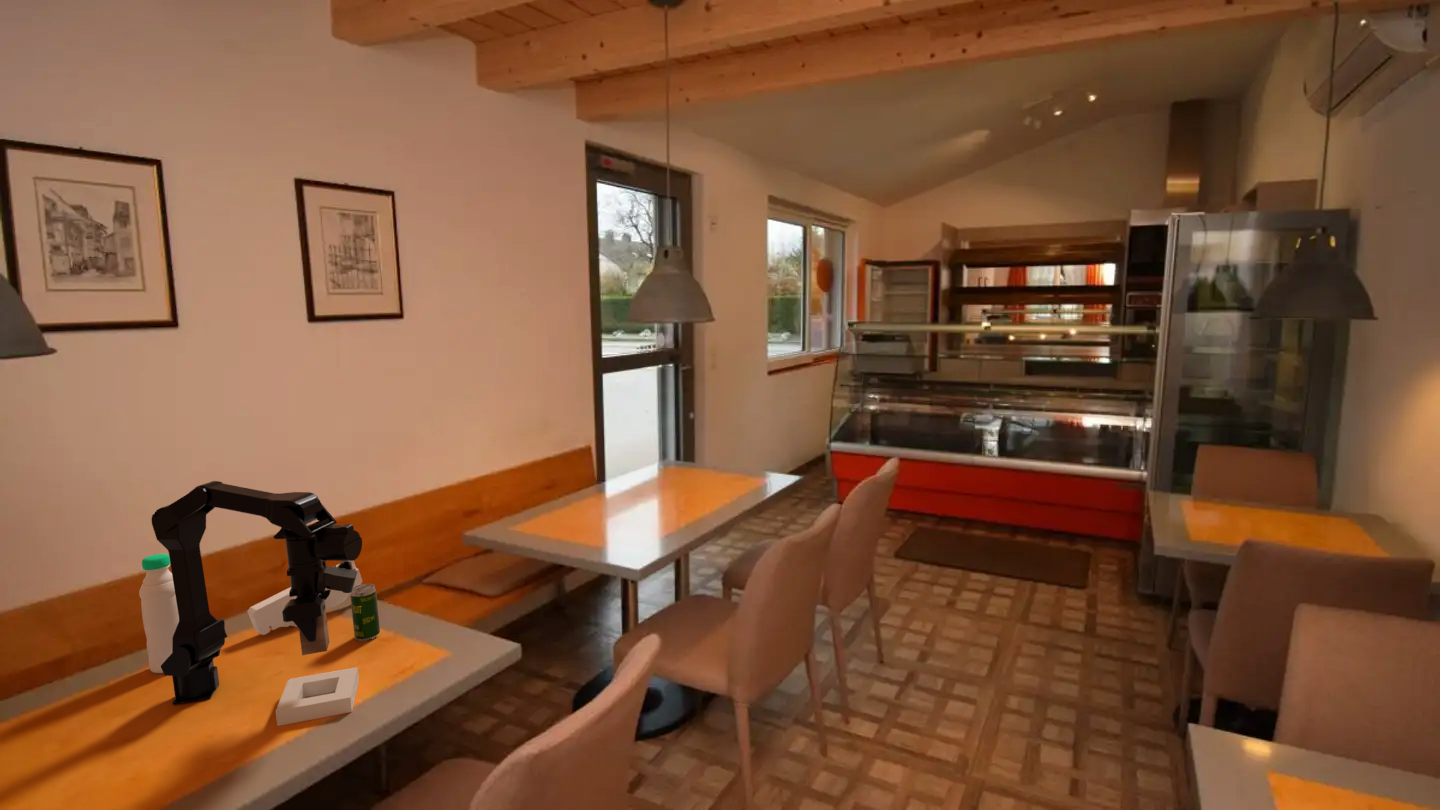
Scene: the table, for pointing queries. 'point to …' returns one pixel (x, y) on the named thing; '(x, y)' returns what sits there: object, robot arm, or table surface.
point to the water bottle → (158, 609)
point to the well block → (321, 706)
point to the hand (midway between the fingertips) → (314, 636)
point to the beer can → (365, 612)
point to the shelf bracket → (271, 608)
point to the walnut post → (317, 637)
